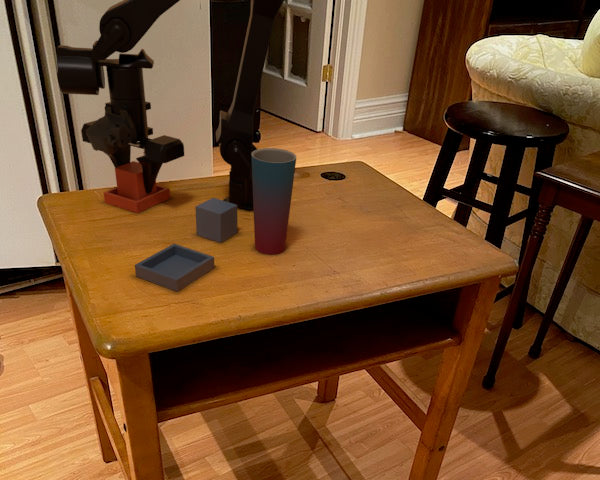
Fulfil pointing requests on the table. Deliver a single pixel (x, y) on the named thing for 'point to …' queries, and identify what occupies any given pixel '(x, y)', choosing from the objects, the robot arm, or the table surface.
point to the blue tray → (174, 267)
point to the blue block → (216, 220)
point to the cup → (272, 197)
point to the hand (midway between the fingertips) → (137, 189)
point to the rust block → (131, 181)
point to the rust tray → (141, 204)
